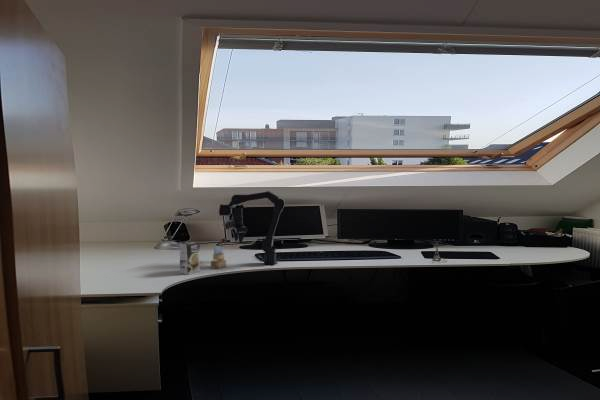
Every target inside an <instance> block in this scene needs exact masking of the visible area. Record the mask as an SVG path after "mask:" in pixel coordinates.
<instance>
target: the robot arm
mask: <svg viewBox="0 0 600 400" xmlns="http://www.w3.org/2000/svg"><path fill="white" fill-rule="evenodd" d="M262 199H268V200H269V201H270V202H271V203H272V204H274V206H273V215H272V217H271V220H270V225H269V228H268V229H267V230H268V232H267V234H266V236H263V237H262V241H261V244H260V245H261V250H262V251H263V252H264V255H263V263H262V265H267V266H275V265H277V264H278V261H277V253H276V250H277V248H276V247H275V246H274V236H275V231H276V230H277V229H276V228H277V225H278V222H279V219H280V215H281V213H282V212H283V210H284V208H285V206H286V200H285V199H284V198H283V197H279V196H277V194H274V193H273V192H272V191H270V190H267V191H262V192H256V193H255V192H253V193H249V194H248V193H247V194H246V193H244V194H243V193H236V194H234V195H232V196H231V199H230V200H231V201H230V202H229V203H228V204H224V203H222V204H219V209H218V214H219V216H220V217H230V216H231V215H232V217H231V220H228V221H226V222H223V223H222V225H223V228H224V230H230V231H231V232H232V235H233V238H234V241H235V242H237V241H238V243H239V244H242V243H243V240H244V238H245V236H246V233H248V227H246V226H245V225H244V224H243V223H244V222H243V220H244V216H243V209H246V207H247V206H245V205H244V203H245V202H248V201H255V200H262Z"/></svg>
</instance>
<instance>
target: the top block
mask: <svg viewBox="0 0 600 400" xmlns="http://www.w3.org/2000/svg"><path fill="white" fill-rule="evenodd" d="M223 260H225V252H222V254H214V253H212V261H214V262H222V261H223Z"/></svg>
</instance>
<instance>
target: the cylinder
mask: <svg viewBox="0 0 600 400" xmlns="http://www.w3.org/2000/svg"><path fill="white" fill-rule="evenodd" d="M222 250H223V247H222V246H221V245H215V246H213V254H222V253H223V251H222Z"/></svg>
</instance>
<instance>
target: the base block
mask: <svg viewBox="0 0 600 400" xmlns="http://www.w3.org/2000/svg"><path fill="white" fill-rule="evenodd" d="M226 267H227V260H226V259H224V260H223V261H222V262H214V261H213V260H210V269H215V270H216V269H217V270H221V269H224V268H226Z"/></svg>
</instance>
